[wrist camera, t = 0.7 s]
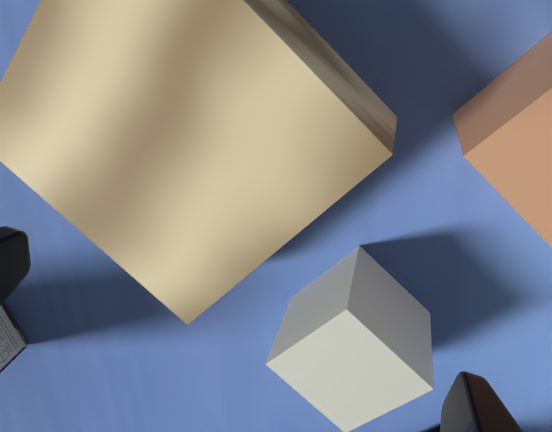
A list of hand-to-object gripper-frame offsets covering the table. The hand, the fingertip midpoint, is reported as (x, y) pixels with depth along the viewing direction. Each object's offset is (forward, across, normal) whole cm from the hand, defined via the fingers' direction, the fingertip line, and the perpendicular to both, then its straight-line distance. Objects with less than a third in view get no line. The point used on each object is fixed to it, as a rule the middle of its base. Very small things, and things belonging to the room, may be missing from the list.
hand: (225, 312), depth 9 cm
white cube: (+13, -4, +8) cm, 16 cm away
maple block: (+13, +6, 0) cm, 14 cm away
